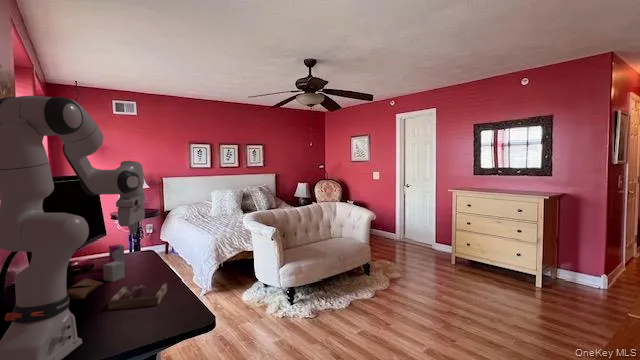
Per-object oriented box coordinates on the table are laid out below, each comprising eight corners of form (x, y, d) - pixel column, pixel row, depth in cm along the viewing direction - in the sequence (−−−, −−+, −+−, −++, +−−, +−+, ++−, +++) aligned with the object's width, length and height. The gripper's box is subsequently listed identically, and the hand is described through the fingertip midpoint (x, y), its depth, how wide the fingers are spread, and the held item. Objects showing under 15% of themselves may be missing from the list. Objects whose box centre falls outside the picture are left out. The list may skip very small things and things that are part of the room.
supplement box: (122, 265, 173) (121, 243, 172) (125, 268, 168) (124, 245, 168) (109, 267, 169) (108, 245, 168) (111, 270, 164) (111, 247, 164)
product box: (115, 276, 156) (115, 260, 156) (125, 277, 154) (124, 262, 154) (103, 280, 150) (102, 264, 150) (112, 282, 148) (112, 265, 148)
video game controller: (122, 310, 122) (128, 295, 121) (114, 303, 123) (120, 288, 122) (145, 300, 131) (150, 286, 130) (137, 294, 133) (142, 279, 131)
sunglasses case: (85, 298, 130) (75, 284, 129) (68, 308, 129) (57, 294, 128) (105, 282, 147) (96, 270, 146) (90, 291, 146) (81, 279, 145)
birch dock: (157, 305, 123) (157, 297, 123) (108, 309, 119) (108, 301, 119) (167, 290, 138) (167, 283, 138) (124, 293, 134) (123, 286, 134)
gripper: (132, 198, 146) (133, 229, 146) (113, 203, 126) (114, 239, 126) (148, 198, 147) (149, 228, 148) (132, 202, 127) (132, 238, 128)
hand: (133, 233), depth 137 cm, fingers closed
